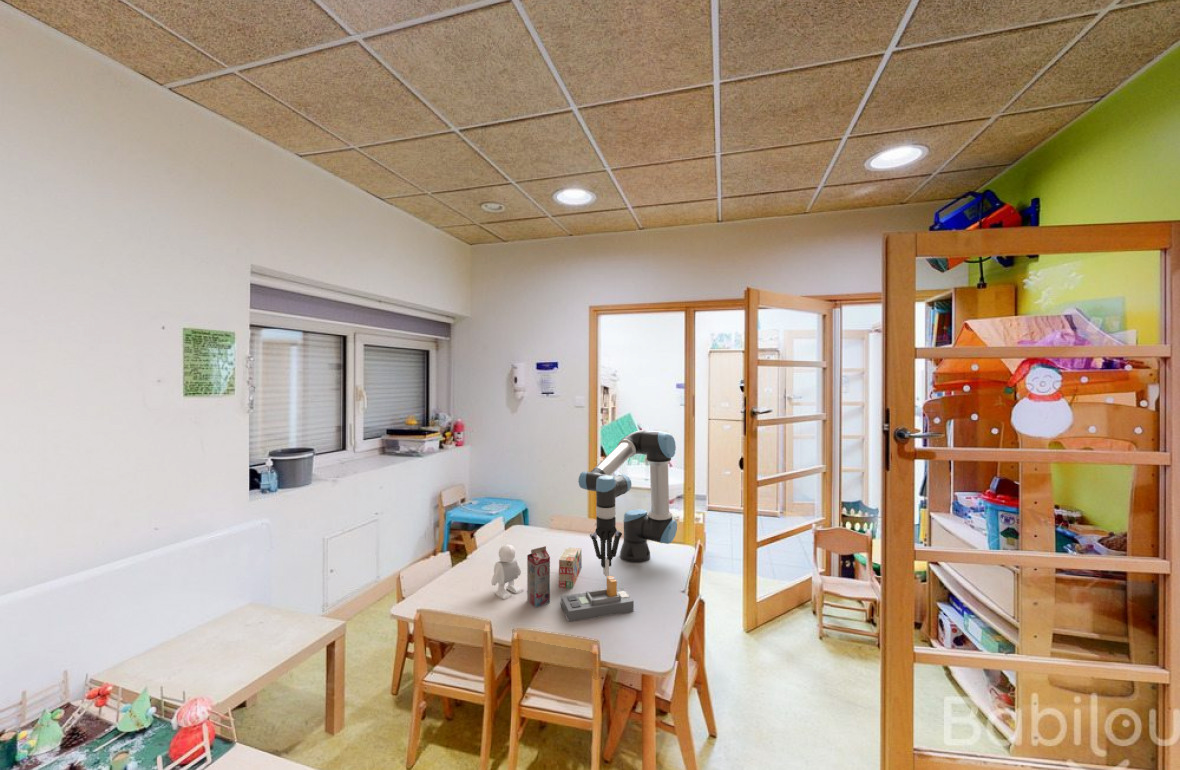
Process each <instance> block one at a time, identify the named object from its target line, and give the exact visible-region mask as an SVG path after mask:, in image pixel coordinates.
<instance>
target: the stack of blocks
mask: <svg viewBox="0 0 1180 770" xmlns="http://www.w3.org/2000/svg"><path fill="white" fill-rule="evenodd" d="M582 556H583V555H582V548H578V547H568V548H564V550H563V552H562V554H561V556H560V557H559V560H558V588H563V589H564V588H565V589H573V588H574V586H575V584H576V583H577V580H578V577H579V574H580V573H581V570H582V561H583V559H582Z"/></svg>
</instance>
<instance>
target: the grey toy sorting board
mask: <svg viewBox="0 0 1180 770" xmlns="http://www.w3.org/2000/svg"><path fill="white" fill-rule="evenodd" d="M560 597H561V598H560V601H561V603H560V605H561V608H562V610H563V612H564V615H565V617H566V619H567V621H568V623H571V622H576V621H582V620H588V619H595V618H600V617H606V616H613V615H614V616H615V615H618V614H626V613H631V612H634V607H635V605H634V602H635V601H634V600H633V598H632V597H631V596H630V595H629V594H628V592H627V591H626V590H625V588H624V587H617V596H611V597H609V596H608V595H607V587H606V588H600V589H592V590H586V591H585V592H579V593H573V594H566V595H561V596H560Z"/></svg>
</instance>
